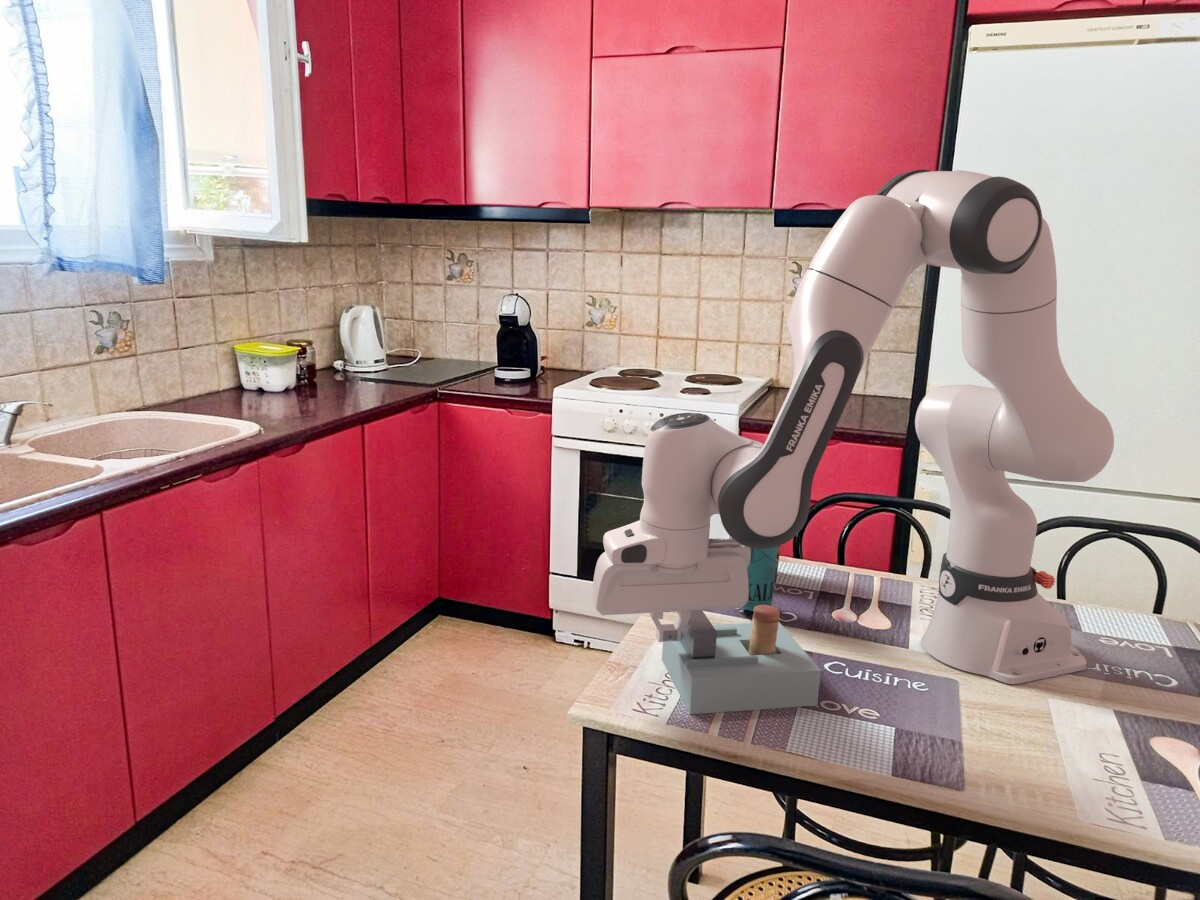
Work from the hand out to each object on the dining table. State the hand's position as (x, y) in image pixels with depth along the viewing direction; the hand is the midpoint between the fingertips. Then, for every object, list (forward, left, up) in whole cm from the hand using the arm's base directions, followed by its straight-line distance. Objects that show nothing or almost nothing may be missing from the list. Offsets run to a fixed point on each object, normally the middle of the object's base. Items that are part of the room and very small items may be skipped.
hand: (668, 639), depth 111 cm
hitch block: (-10, 0, -7) cm, 12 cm away
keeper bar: (-4, 0, -1) cm, 4 cm away
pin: (-13, 0, -6) cm, 14 cm away
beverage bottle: (-20, -21, -7) cm, 30 cm away
